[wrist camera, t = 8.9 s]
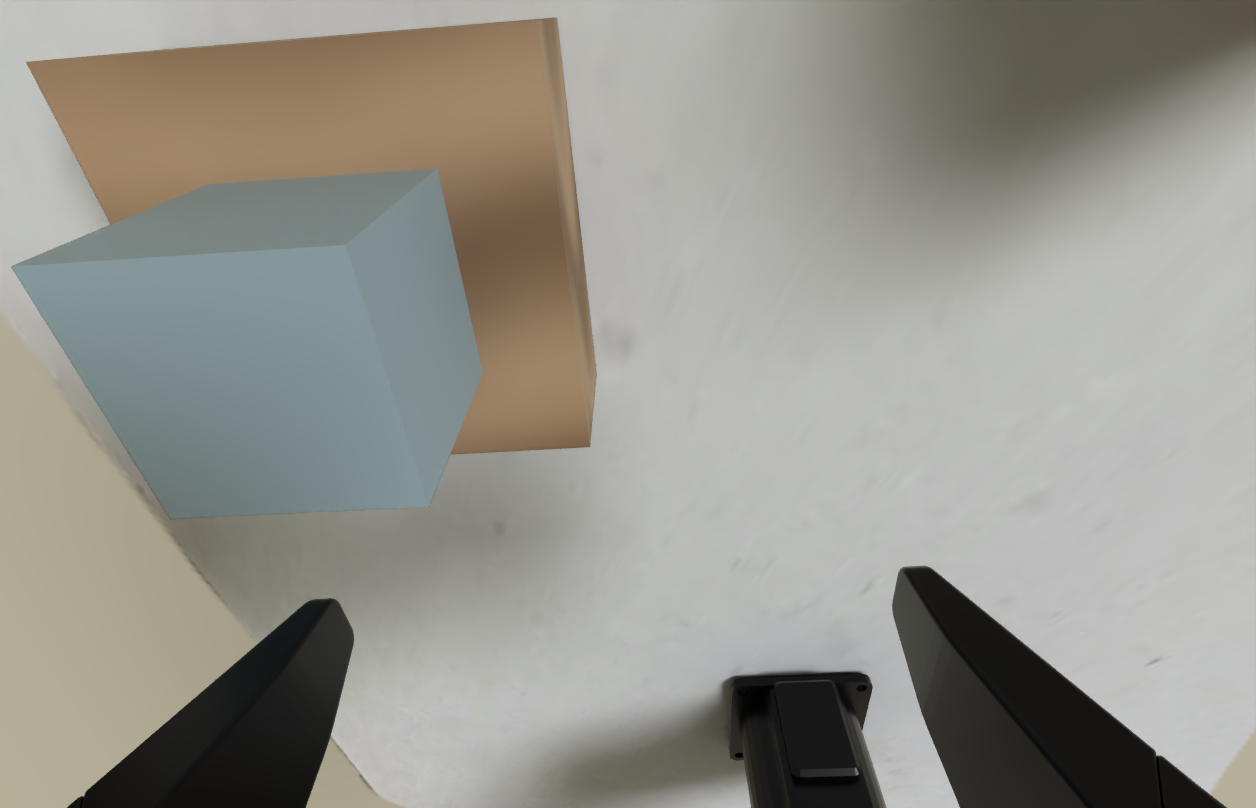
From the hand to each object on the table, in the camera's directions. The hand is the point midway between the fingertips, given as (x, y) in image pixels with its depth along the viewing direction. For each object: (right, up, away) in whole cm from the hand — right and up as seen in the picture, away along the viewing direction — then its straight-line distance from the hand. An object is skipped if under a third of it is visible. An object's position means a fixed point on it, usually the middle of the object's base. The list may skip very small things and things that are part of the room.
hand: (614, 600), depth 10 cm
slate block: (-6, +6, +5) cm, 10 cm away
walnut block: (-6, +8, +8) cm, 13 cm away
